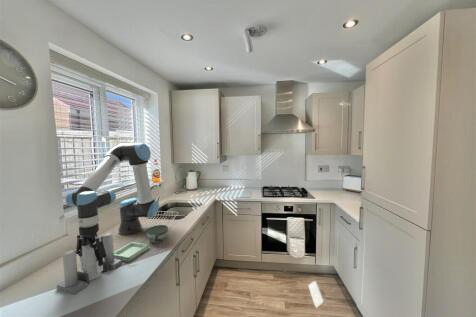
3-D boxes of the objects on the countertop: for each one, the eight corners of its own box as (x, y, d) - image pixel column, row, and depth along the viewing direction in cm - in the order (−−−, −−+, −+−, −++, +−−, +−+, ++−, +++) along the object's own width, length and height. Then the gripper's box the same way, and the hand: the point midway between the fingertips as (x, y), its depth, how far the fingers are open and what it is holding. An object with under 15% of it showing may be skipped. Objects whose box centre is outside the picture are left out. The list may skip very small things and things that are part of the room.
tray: (110, 258, 112) (110, 254, 111) (132, 245, 125) (131, 241, 125) (128, 262, 108) (128, 257, 108) (148, 248, 122) (148, 244, 121)
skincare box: (82, 275, 98) (80, 245, 97) (97, 269, 102) (95, 240, 101) (87, 282, 92) (85, 250, 91) (102, 275, 97) (100, 245, 96)
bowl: (173, 237, 135) (172, 226, 135) (159, 247, 123) (158, 234, 122) (156, 235, 140) (156, 224, 139) (141, 244, 127) (140, 232, 127)
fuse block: (57, 289, 88) (54, 253, 87) (106, 260, 110) (104, 231, 109) (74, 294, 84) (71, 257, 83) (121, 263, 106) (119, 234, 105)
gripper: (63, 225, 95) (67, 270, 97) (98, 230, 88) (101, 279, 90) (80, 219, 102) (83, 262, 104) (113, 224, 96) (116, 269, 97)
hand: (92, 270), depth 97 cm, fingers closed on skincare box, 10 cm apart
